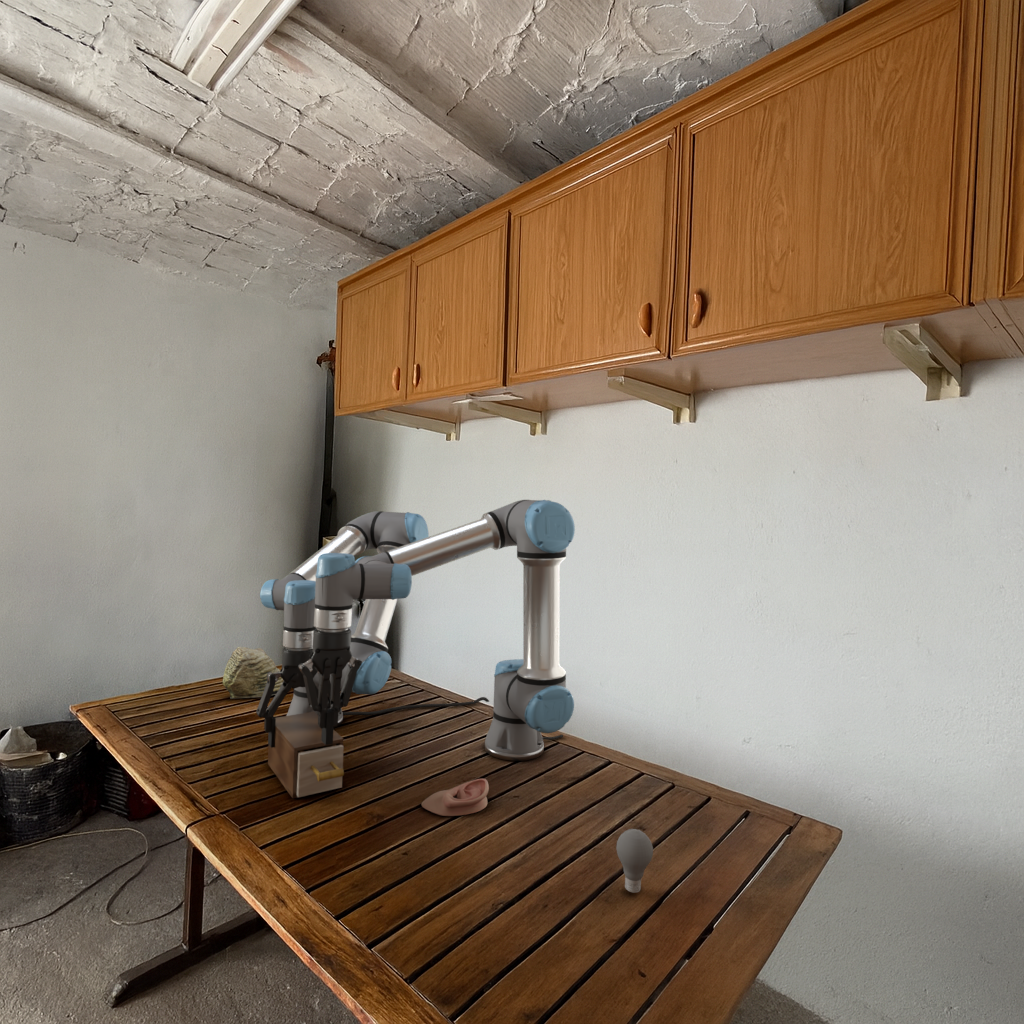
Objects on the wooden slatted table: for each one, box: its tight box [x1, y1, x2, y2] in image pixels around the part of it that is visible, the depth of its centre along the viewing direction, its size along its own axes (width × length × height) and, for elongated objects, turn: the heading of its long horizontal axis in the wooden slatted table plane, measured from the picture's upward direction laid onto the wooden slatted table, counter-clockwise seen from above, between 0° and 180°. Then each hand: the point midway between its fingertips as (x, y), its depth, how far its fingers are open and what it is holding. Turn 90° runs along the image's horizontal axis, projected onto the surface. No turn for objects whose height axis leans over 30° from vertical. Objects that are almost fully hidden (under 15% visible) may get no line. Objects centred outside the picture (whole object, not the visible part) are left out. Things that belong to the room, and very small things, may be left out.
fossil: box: [222, 646, 284, 699], centre depth 198 cm, size 9×18×15 cm, turn 132°
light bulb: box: [615, 828, 654, 894], centre depth 106 cm, size 6×6×10 cm
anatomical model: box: [421, 778, 490, 817], centre depth 133 cm, size 13×4×12 cm
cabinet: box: [267, 712, 344, 799], centre depth 143 cm, size 20×10×11 cm, turn 35°
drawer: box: [297, 744, 345, 798], centre depth 139 cm, size 25×9×9 cm, turn 35°
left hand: (296, 740), depth 148 cm, fingers closed on cabinet, 10 cm apart
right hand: (326, 742), depth 131 cm, fingers closed
